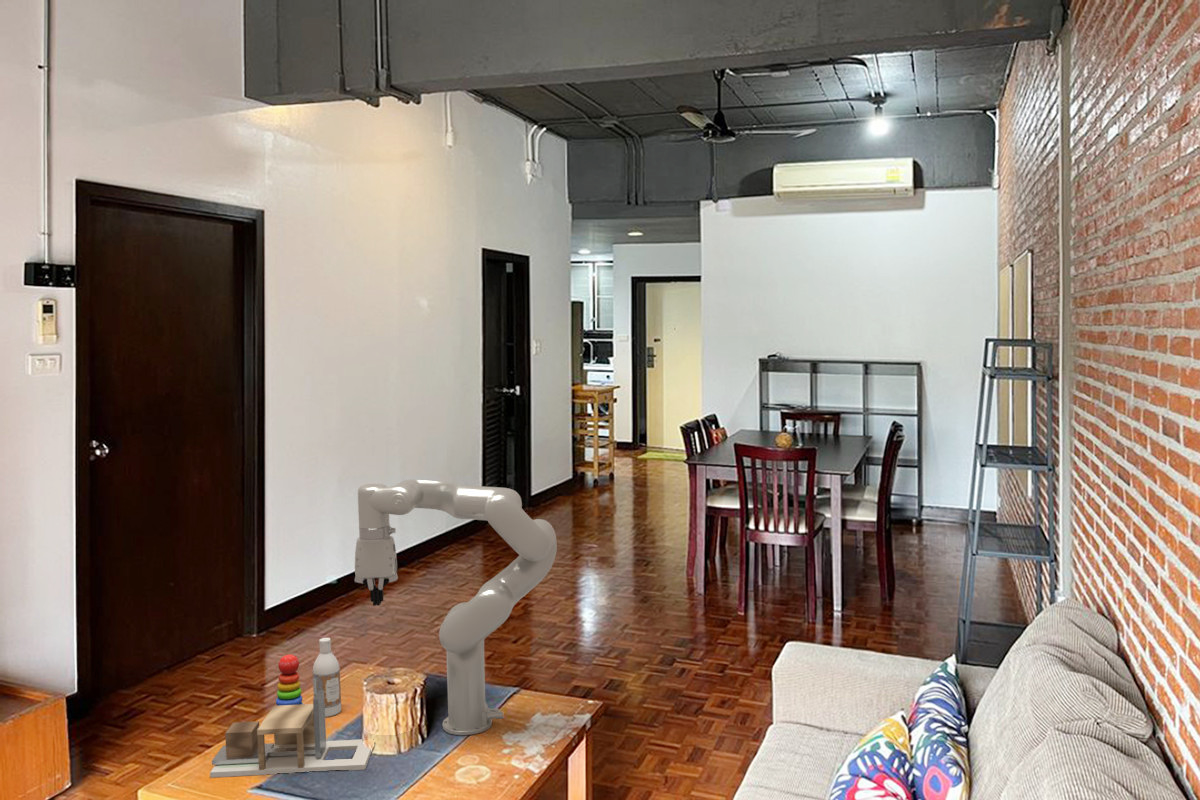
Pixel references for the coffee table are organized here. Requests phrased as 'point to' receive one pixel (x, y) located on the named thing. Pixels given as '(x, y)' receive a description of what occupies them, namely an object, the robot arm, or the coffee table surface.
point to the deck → (311, 762)
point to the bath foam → (327, 678)
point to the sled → (269, 751)
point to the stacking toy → (289, 682)
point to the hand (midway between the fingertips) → (377, 604)
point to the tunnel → (287, 729)
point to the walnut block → (242, 739)
